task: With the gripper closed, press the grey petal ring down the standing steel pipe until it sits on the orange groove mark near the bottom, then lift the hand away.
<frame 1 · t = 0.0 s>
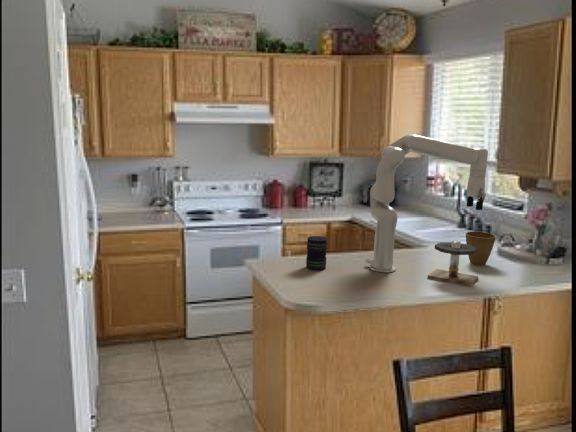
hand: (474, 208, 279), 31 cm above the counter, tool pointing down, fingers open, 9 cm apart
storage jar: (315, 268, 276), on the counter
grey petal ring: (455, 248, 264), point 15 cm above the counter, slide at 9.0 cm
steel pipe: (454, 258, 265), on the base board, point 10 cm above the counter
base board: (452, 278, 266), on the counter
plant pot: (477, 264, 295), on the counter
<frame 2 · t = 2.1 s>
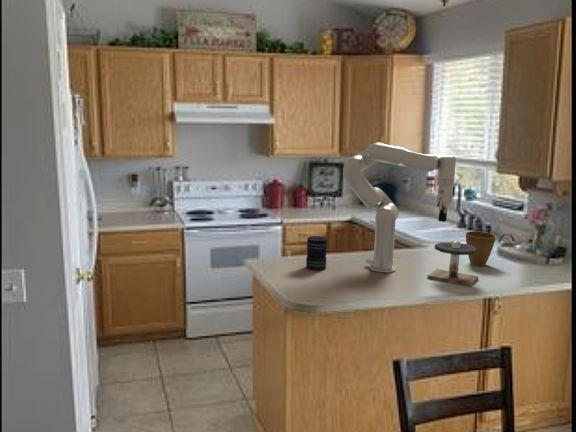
hand: (442, 221, 265), 27 cm above the counter, tool pointing down, fingers closed
nothing on the counter moved.
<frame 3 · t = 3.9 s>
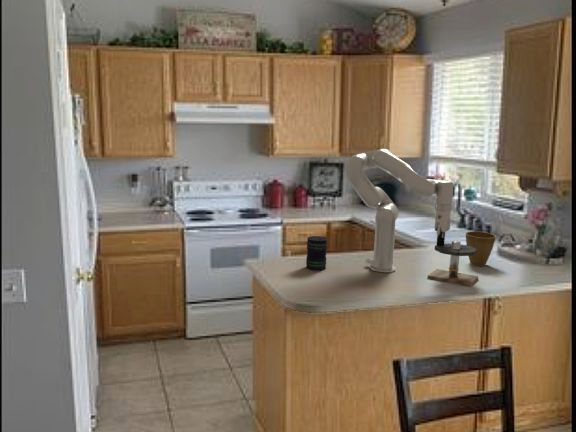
hand: (440, 245, 267), 15 cm above the counter, tool pointing down, fingers closed
grey petal ring: (455, 249, 264), point 14 cm above the counter, slide at 8.5 cm, touching gripper
everything else where it was.
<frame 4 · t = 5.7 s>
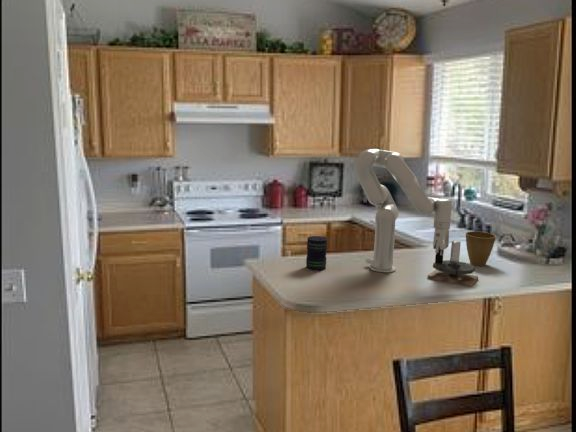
hand: (438, 262, 269), 7 cm above the counter, tool pointing down, fingers closed
grey petal ring: (453, 267, 265), point 6 cm above the counter, slide at 0.0 cm, touching gripper
everything else where it was.
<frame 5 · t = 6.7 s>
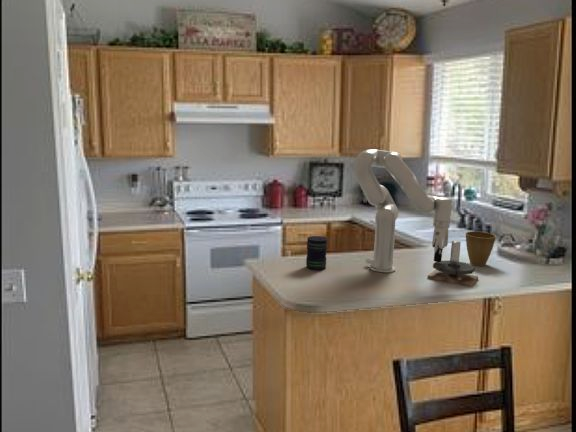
hand: (437, 261, 269), 7 cm above the counter, tool pointing down, fingers closed
grey petal ring: (453, 267, 265), point 6 cm above the counter, slide at -0.1 cm
everything else where it was.
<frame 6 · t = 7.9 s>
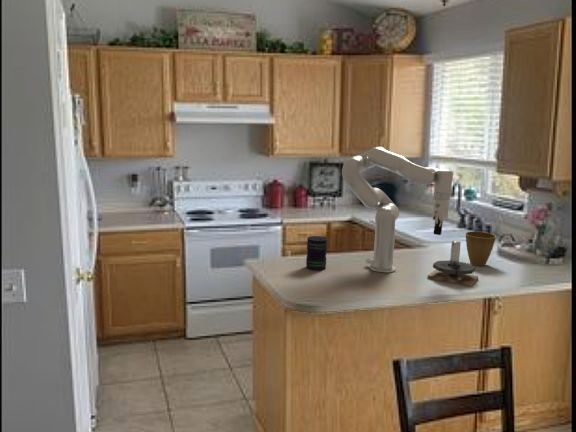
hand: (437, 234, 266), 20 cm above the counter, tool pointing down, fingers closed
nothing on the counter moved.
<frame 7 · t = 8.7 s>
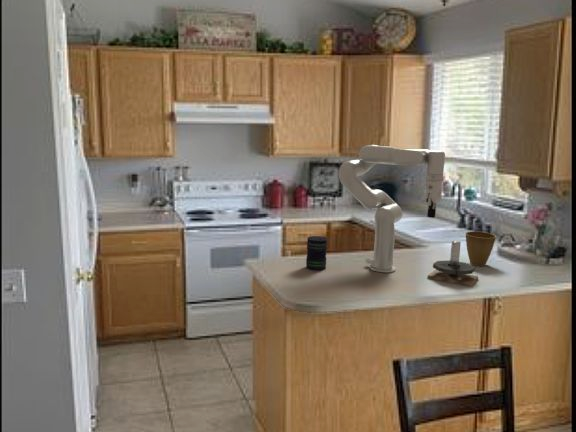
hand: (431, 217, 262), 29 cm above the counter, tool pointing down, fingers closed
nothing on the counter moved.
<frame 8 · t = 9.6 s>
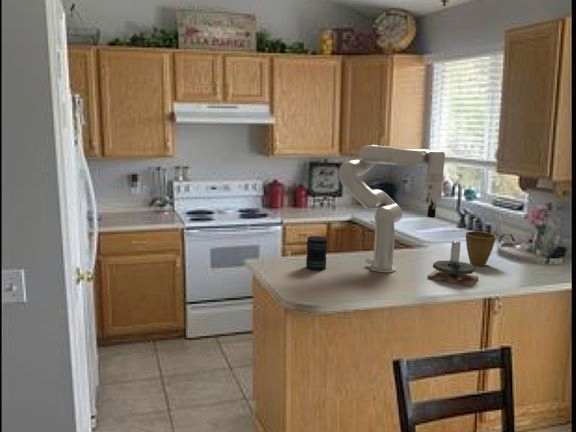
hand: (431, 217, 262), 29 cm above the counter, tool pointing down, fingers closed
nothing on the counter moved.
at the end: grey petal ring slide at -0.1 cm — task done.
